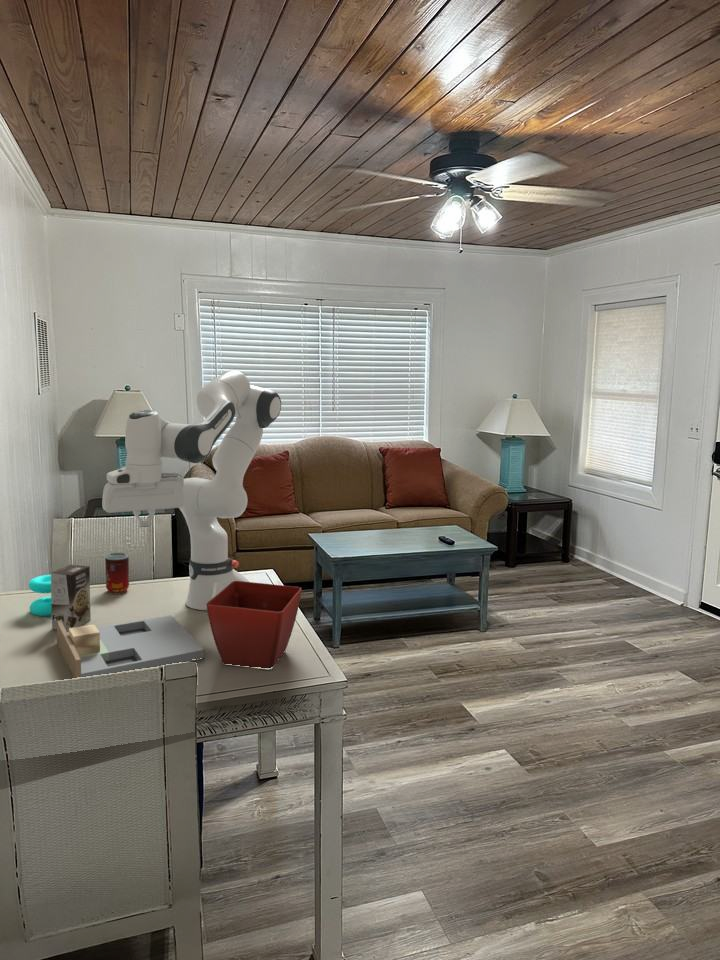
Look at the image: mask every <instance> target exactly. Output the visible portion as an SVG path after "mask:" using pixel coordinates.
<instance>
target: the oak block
mask: <svg viewBox="0 0 720 960" xmlns="http://www.w3.org/2000/svg"><path fill="white" fill-rule="evenodd" d="M97 627H98V626H96V625H95V624H88V625H86V624H85V625H82V626H80V627H74V628H69V631H68V632H69V637H70V639H71V641H72V643H73V645H74V647H75V649H76V651H77V653H78V655H84V654H90V653H95V652H100V632H99V631H98V629H97Z"/></svg>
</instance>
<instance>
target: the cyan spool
mask: <svg viewBox="0 0 720 960" xmlns="http://www.w3.org/2000/svg"><path fill="white" fill-rule="evenodd" d="M28 588H29V589H30V591H32V592H33V593H37V594H51V574H44V575H38V576H35V577H33V578H32V579H31V580H30V581H29V582H28ZM29 611H30V612H31V613H32V614H33V615H35V616H41V617H47V616H52V607H51V595H50V596H43V597H40V598H37V599H35V600H33V601H32V602H31V603H30V605H29Z"/></svg>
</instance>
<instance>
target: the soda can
mask: <svg viewBox="0 0 720 960" xmlns="http://www.w3.org/2000/svg"><path fill="white" fill-rule="evenodd" d="M129 560H130V557H129V555H128V554H127V553H125V552H113V553H109V554H107V555H106V556H105V562H104V563H105V564H104V565H105V588H106V590H107V591H108V593H109V594H110V593H111V595H121V594H120V593H122V594H125V593H126V591H128V589H129V587H130V567H129V566H130V561H129ZM124 592H125V593H124Z"/></svg>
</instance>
